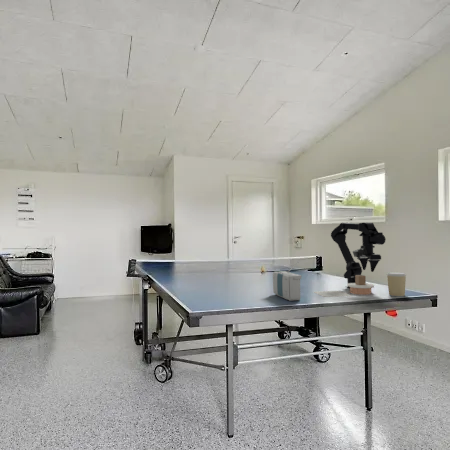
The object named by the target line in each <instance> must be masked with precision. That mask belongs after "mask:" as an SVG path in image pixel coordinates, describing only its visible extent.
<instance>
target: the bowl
mask: <svg viewBox="0 0 450 450" xmlns="http://www.w3.org/2000/svg"><path fill="white" fill-rule="evenodd" d="M349 293H351V294H354V295H372V288H352V287H350V288H349Z"/></svg>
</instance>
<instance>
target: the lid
mask: <svg viewBox="0 0 450 450" xmlns="http://www.w3.org/2000/svg"><path fill="white" fill-rule="evenodd" d="M346 284H347V286H346V287H352V288H371V289H373V288H375V285H374V284H373V283H369V282H366V275H363V274H361V275H355V283H346Z"/></svg>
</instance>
